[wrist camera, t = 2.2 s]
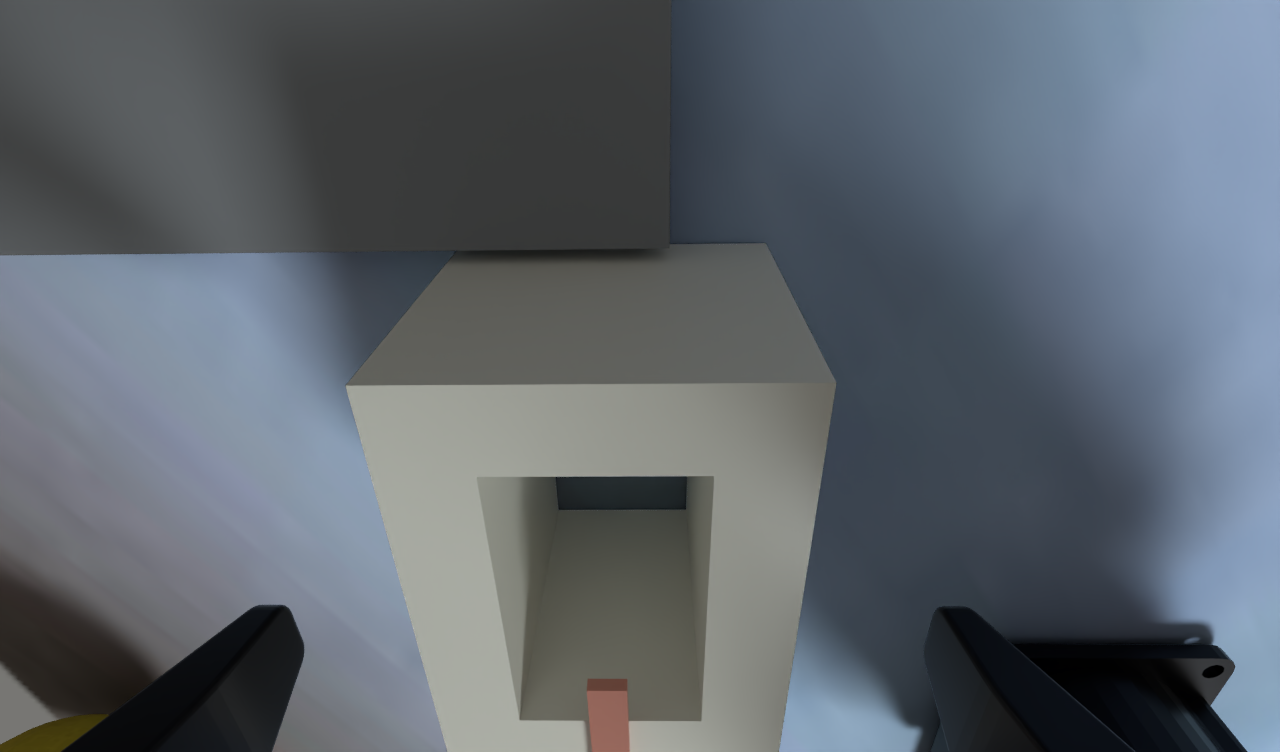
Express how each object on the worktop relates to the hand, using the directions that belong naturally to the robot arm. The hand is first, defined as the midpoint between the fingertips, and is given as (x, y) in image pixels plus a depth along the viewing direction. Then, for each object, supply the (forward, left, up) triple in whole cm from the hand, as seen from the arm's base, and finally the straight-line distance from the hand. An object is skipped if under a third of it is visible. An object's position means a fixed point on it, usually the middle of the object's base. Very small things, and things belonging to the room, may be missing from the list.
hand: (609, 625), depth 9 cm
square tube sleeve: (0, 0, -5) cm, 5 cm away
